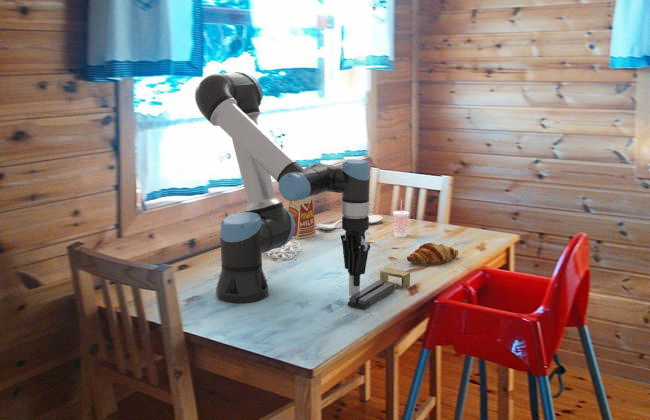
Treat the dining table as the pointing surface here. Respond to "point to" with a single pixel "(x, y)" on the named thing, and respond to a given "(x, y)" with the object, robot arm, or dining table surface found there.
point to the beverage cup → (400, 222)
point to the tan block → (395, 273)
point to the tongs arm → (364, 293)
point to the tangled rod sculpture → (282, 251)
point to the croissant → (432, 254)
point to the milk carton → (303, 217)
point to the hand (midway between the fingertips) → (354, 295)
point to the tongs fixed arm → (376, 295)
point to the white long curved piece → (327, 227)
